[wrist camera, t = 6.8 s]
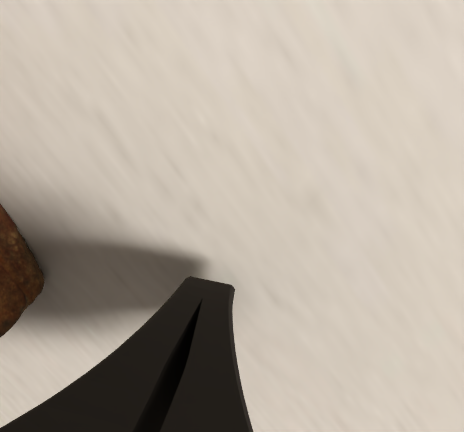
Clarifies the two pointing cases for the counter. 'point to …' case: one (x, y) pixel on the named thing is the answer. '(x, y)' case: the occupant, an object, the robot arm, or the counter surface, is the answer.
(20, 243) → the brick
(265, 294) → the counter surface
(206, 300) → the robot arm
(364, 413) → the counter surface
